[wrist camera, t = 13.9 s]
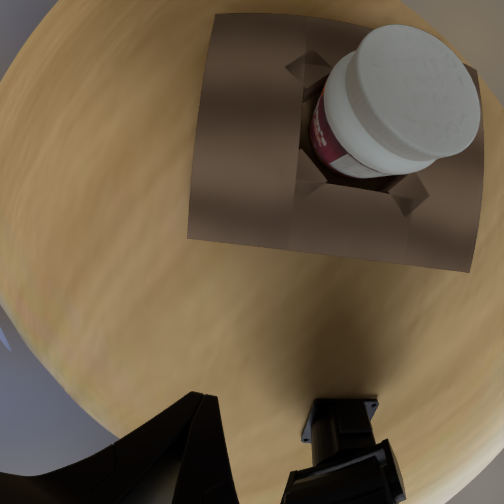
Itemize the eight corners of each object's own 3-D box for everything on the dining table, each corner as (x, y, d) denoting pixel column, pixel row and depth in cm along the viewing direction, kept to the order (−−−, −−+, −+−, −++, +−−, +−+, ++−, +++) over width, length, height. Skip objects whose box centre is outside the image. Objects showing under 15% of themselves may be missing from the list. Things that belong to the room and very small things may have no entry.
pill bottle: (312, 90, 17) (338, -7, 6) (392, 108, 16) (480, 48, 5) (304, 172, 18) (333, 146, 7) (386, 187, 18) (489, 190, 7)
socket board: (449, 262, 18) (469, 272, 15) (200, 231, 20) (187, 238, 17) (458, 80, 14) (476, 70, 12) (224, 33, 16) (215, 14, 13)
